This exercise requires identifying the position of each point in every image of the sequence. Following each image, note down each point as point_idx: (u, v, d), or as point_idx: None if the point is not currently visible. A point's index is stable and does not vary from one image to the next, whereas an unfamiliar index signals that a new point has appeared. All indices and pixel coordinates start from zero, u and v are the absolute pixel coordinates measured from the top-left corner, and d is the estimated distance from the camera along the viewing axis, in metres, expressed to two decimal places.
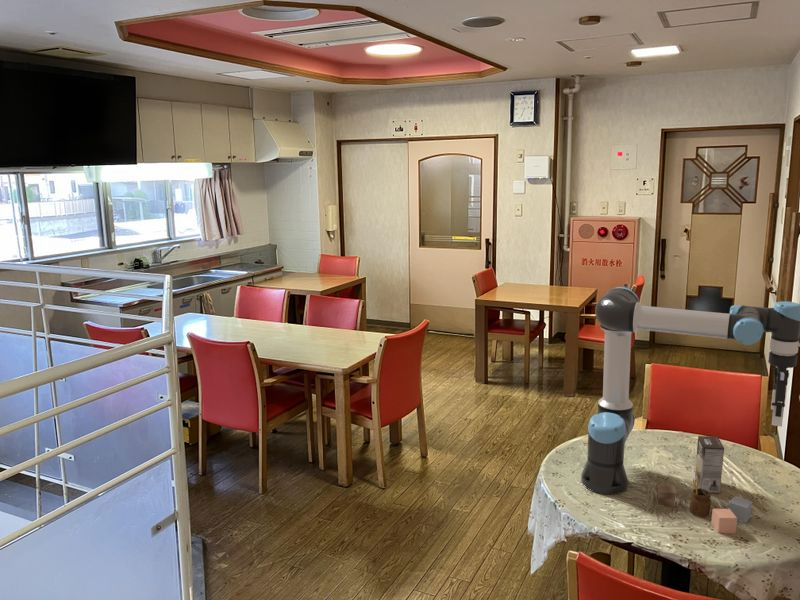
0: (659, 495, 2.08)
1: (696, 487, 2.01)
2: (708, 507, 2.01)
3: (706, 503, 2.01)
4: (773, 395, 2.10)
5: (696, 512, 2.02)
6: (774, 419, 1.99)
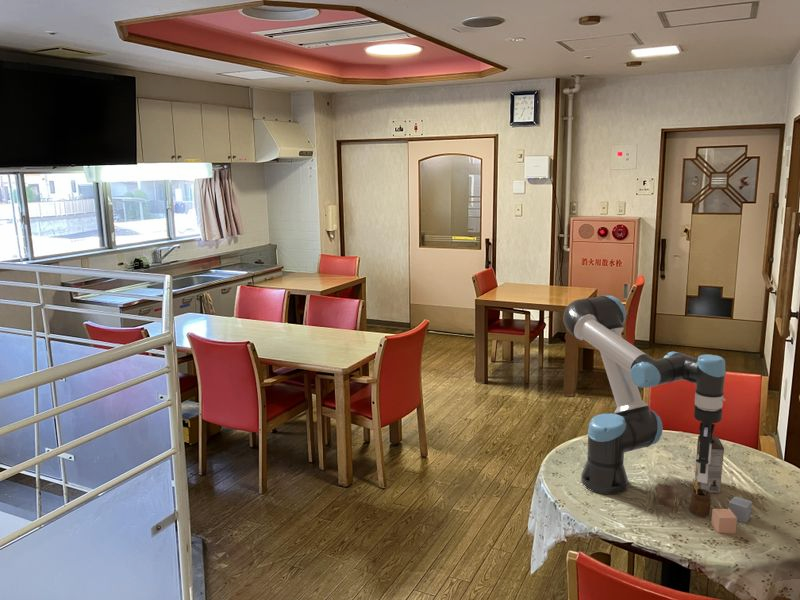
0: (659, 494, 2.08)
1: (696, 487, 2.01)
2: (708, 507, 2.01)
3: (706, 503, 2.01)
4: None
5: (696, 512, 2.02)
6: (699, 476, 1.95)
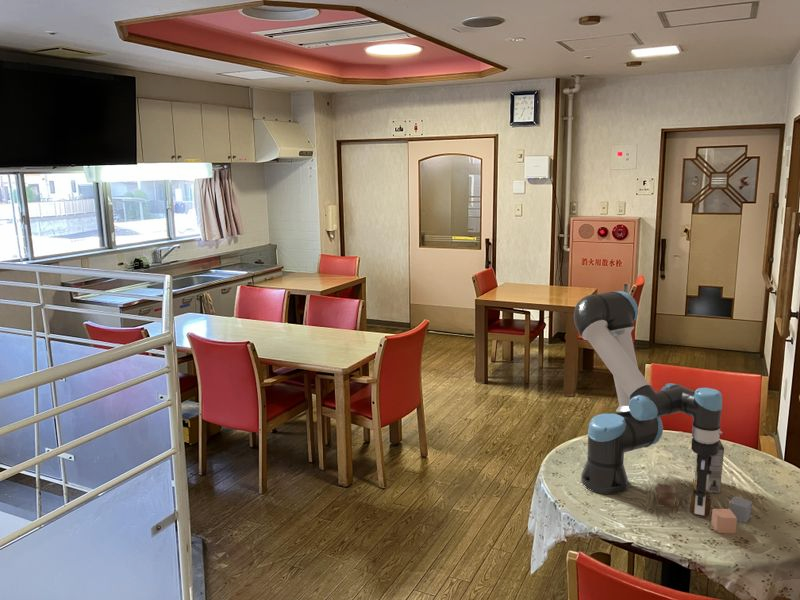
0: (659, 494, 2.08)
1: None
2: (708, 507, 2.01)
3: (706, 504, 2.01)
4: None
5: None
6: (696, 508, 1.97)
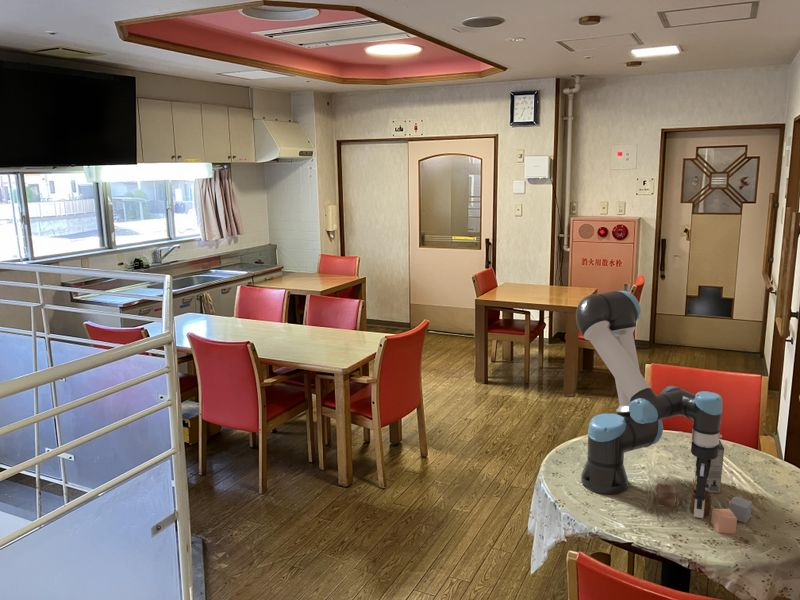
0: (659, 494, 2.08)
1: None
2: (708, 507, 2.01)
3: (706, 504, 2.00)
4: None
5: None
6: (696, 511, 2.01)
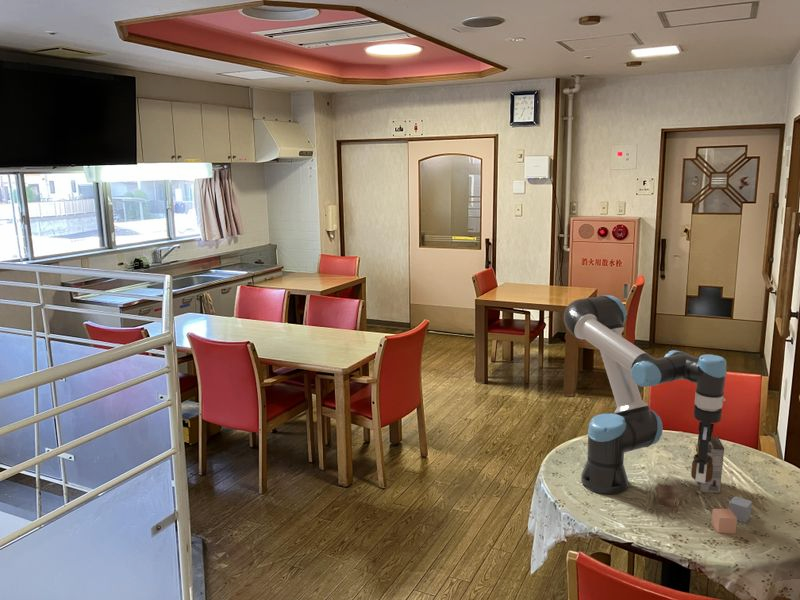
0: (659, 494, 2.08)
1: None
2: (710, 472, 1.99)
3: (708, 468, 1.98)
4: None
5: None
6: (697, 475, 1.99)
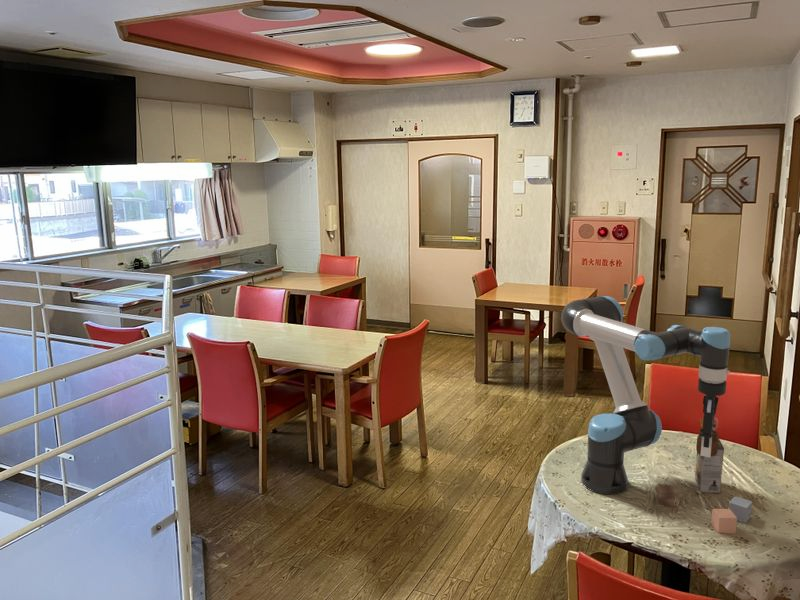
0: (659, 494, 2.08)
1: None
2: (715, 446, 1.97)
3: (713, 442, 1.96)
4: None
5: None
6: (702, 450, 1.97)
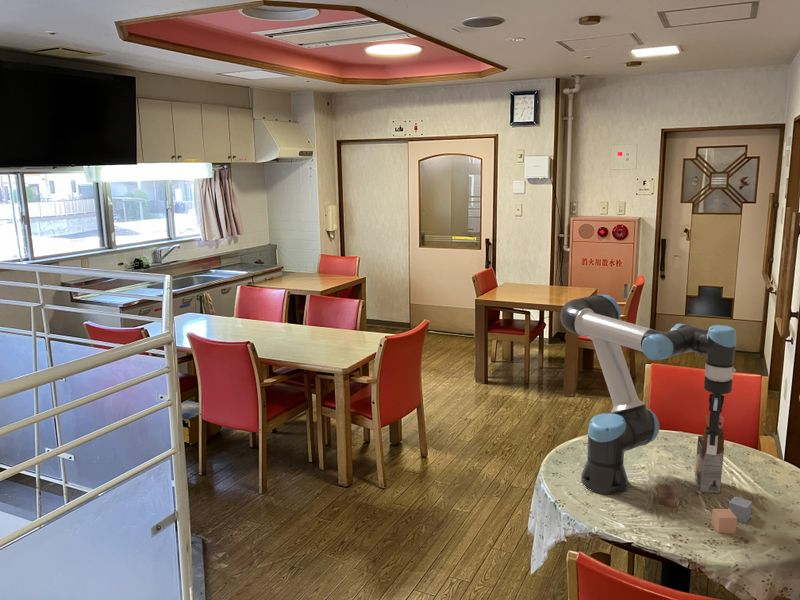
0: (659, 494, 2.08)
1: None
2: (721, 444, 1.97)
3: (719, 440, 1.97)
4: None
5: None
6: (708, 448, 1.97)
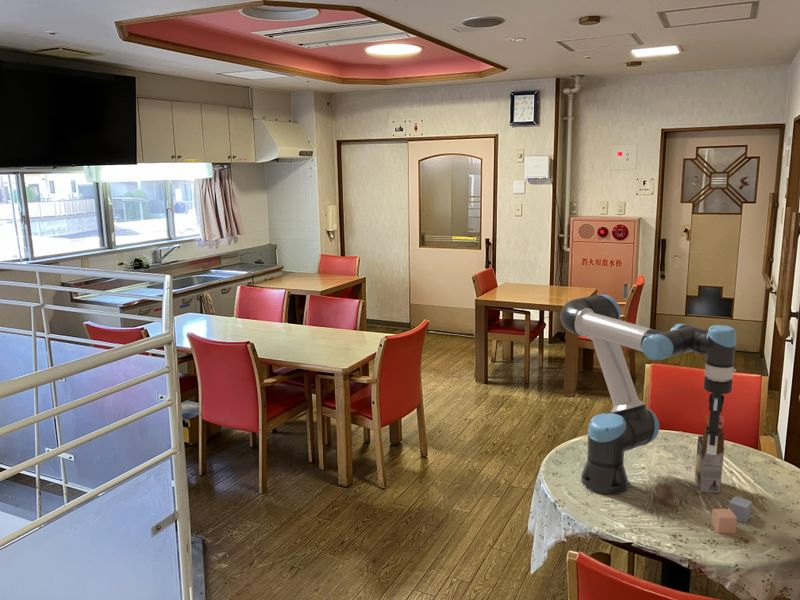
0: (659, 494, 2.08)
1: None
2: (721, 444, 1.97)
3: (719, 440, 1.97)
4: None
5: None
6: (708, 448, 1.97)
